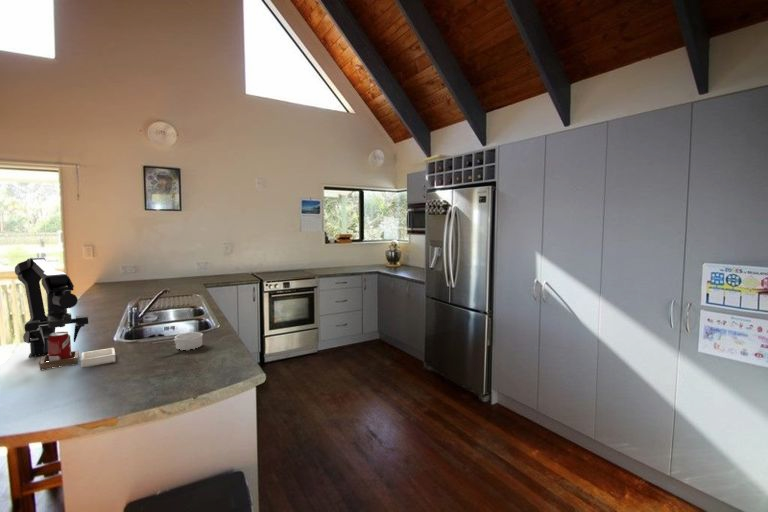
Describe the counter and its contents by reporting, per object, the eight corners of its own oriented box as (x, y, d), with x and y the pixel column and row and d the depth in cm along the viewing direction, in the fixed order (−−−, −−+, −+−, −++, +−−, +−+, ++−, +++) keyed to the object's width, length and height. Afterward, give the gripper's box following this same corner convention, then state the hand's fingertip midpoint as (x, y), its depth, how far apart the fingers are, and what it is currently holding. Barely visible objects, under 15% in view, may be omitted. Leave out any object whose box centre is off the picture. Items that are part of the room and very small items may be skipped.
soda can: (58, 366, 142) (56, 336, 141) (44, 365, 144) (42, 335, 143) (76, 360, 149) (74, 331, 148) (62, 359, 150) (61, 330, 149)
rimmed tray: (82, 359, 150) (81, 352, 150) (114, 354, 156) (114, 347, 156) (81, 367, 142) (81, 360, 141) (115, 361, 148) (115, 354, 148)
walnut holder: (43, 361, 147) (42, 355, 147) (78, 356, 154) (78, 350, 154) (40, 370, 139) (39, 363, 138) (78, 363, 145) (77, 357, 145)
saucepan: (149, 352, 160) (149, 339, 159) (197, 342, 175) (197, 330, 174) (158, 358, 152) (157, 345, 152) (207, 347, 167) (207, 335, 167)
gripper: (21, 312, 132) (23, 354, 134) (87, 306, 144) (89, 344, 145) (25, 306, 141) (27, 346, 142) (87, 301, 153) (89, 338, 154)
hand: (59, 344), depth 146 cm, fingers open, 9 cm apart
